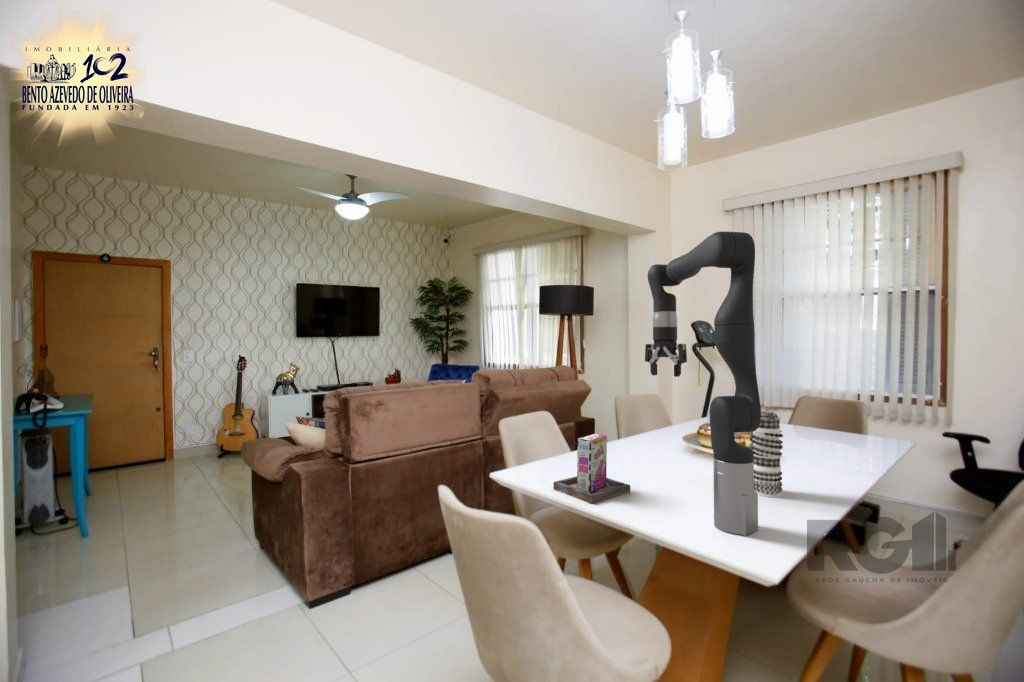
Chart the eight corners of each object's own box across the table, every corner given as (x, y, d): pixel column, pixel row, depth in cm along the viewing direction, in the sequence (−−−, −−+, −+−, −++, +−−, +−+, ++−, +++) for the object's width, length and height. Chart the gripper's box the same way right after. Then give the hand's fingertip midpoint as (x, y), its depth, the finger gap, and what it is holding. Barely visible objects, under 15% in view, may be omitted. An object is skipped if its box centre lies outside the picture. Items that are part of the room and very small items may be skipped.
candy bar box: (591, 494, 139) (590, 440, 139) (576, 491, 142) (576, 438, 142) (607, 485, 148) (607, 434, 148) (593, 482, 151) (593, 433, 151)
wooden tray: (630, 492, 143) (630, 485, 143) (591, 503, 133) (591, 496, 133) (591, 479, 157) (591, 472, 157) (553, 489, 147) (553, 481, 147)
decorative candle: (786, 492, 142) (786, 412, 143) (779, 499, 136) (778, 415, 136) (754, 486, 149) (753, 409, 149) (746, 493, 142) (745, 412, 142)
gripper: (691, 325, 145) (691, 376, 145) (653, 326, 157) (654, 374, 156) (677, 325, 141) (677, 377, 141) (639, 326, 152) (640, 375, 152)
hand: (665, 375), depth 148 cm, fingers open, 8 cm apart
